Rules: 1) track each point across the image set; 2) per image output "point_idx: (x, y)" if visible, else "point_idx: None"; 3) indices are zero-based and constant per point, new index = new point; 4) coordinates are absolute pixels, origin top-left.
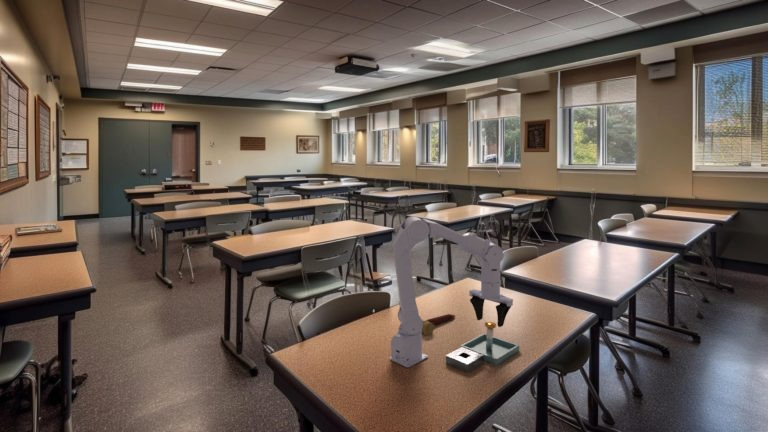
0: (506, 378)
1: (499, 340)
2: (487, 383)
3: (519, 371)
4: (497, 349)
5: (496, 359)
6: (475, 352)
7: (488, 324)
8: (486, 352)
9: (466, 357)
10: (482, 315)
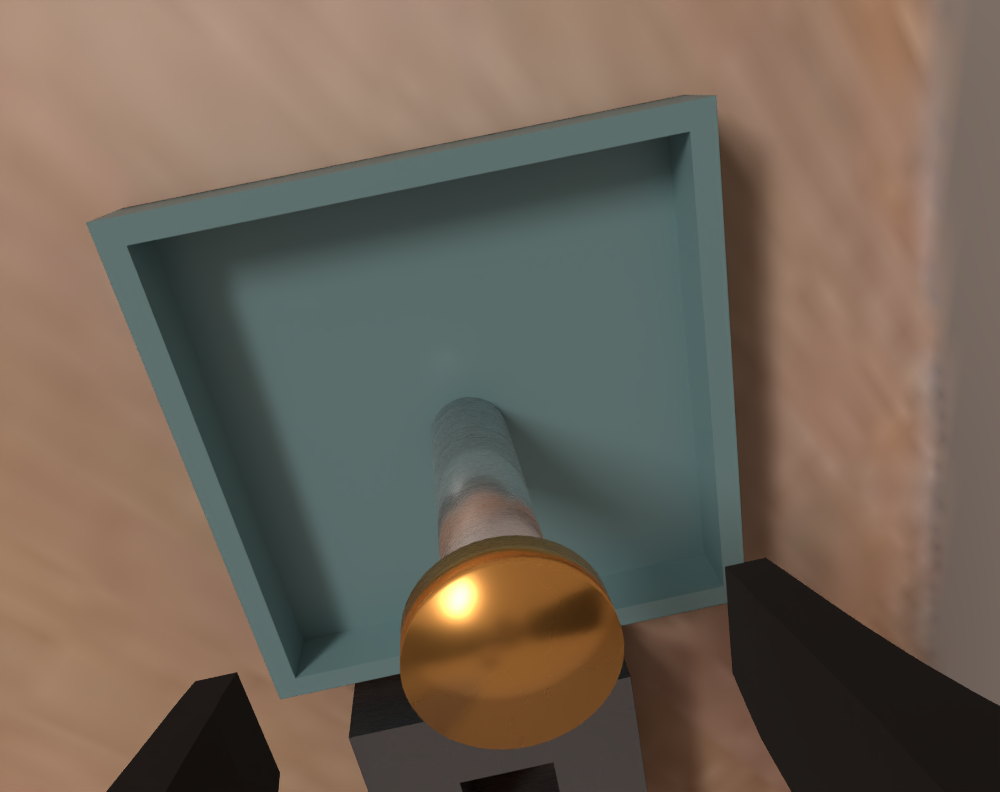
0: (900, 626)
1: (400, 187)
2: None
3: (927, 463)
4: (510, 332)
5: None
6: None
7: (519, 711)
8: None
9: None
10: (213, 730)
